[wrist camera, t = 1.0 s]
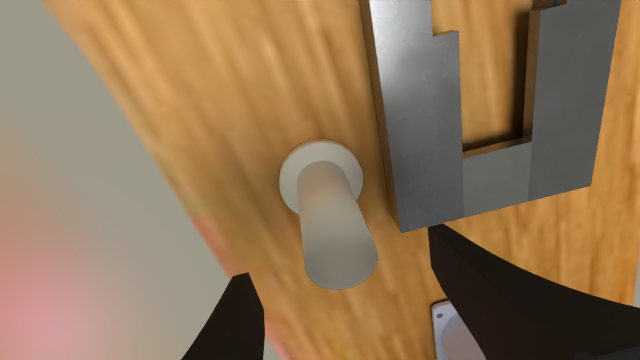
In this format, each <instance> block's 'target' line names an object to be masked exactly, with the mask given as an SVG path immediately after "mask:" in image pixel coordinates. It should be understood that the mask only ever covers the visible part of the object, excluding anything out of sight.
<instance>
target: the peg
mask: <svg viewBox="0 0 640 360" xmlns="http://www.w3.org/2000/svg"><path fill="white" fill-rule="evenodd" d="M279 186H280V192H281V196H282V198H283V200H284V202H285V203H286V205H287V206H288V207H289V208H290V209H291V210H292V211H294V212H295V213H297V214H298V215H300V224H301V234H302V243H303V253H304V262H305V269H306V272H307V275H308V276H309V278H310V279H311V280H312V281H313V282H314V283H316V284H317V285H319V286H321V287H324V288H327V289H333V290H341V289H348V288H351V287H354V286H356V285H358V284H360V283H362V282H363V281H365V280H366V279H367V278H368V277H369V276H370V275H371V274H372V272H373V271H374V269H375V267H376V265H377V261H378V253H377V249H376V247H375V244H374V242H373V240H372V237H371V235H370V232H369V230H368V228H367V225H366V223H365V220H364V218H363V216H362V213H361V211H360V208H359V206H358V204H357V201H356V200H357V199H358V197H359V195H360V193H361V190H362V186H363V173H362V169H361V167H360V165H359V163H358V161H357V159H356V157H355V156H354V154H353V153H352V152H351V150H349V149H348V148H347V147H346V146H344V145H343V144H341V143H339V142H337V141H334V140H329V139H314V140H310V141H306V142H304V143H302V144H300V145H298V146H297V147H295V148H294V149H293V150H292V151H291V152H290V153H289V154H288V155H287V156H286V158H285V159H284V161H283V163H282V166H281V169H280V175H279Z"/></svg>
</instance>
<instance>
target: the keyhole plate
mask: <svg viewBox="0 0 640 360" xmlns="http://www.w3.org/2000/svg"><path fill="white" fill-rule="evenodd" d="M359 4H360V11H361V17H362V24H363V31H364V37H365V44H366V51H367V57H368V64H369V71H370V77H371V84H372V91H373V98H374V104H375V111H376V118H377V124H378V131H379V138H380V144H381V151H382V158H383V164H384V171H385V178H386V185H387V191H388V198H389V205H390V211H391V216H392V218H393V219H394V221H395V223H396V225H397V227H398V228H399V230H400V232H401V233H404V232H408V231H412V230H416V229H420V228H424V227H428V226H432V225H436V224H440V223H444V222H448V221H452V220H456V219H460V218H464V217H468V216H472V215H476V214H480V213H484V212H488V211H492V210H496V209H500V208H504V207H508V206H512V205H516V204H520V203H524V202H528V201H532V200H536V199H540V198H544V197H548V196H552V195H556V194H560V193H564V192H568V191H572V190H576V189H580V188H584V187H588V186H591V181H592V175H593V169H594V163H595V157H596V151H597V145H598V139H599V133H600V127H601V121H602V115H603V108H604V102H605V96H606V90H607V84H608V78H609V72H610V66H611V60H612V54H613V48H614V42H615V36H616V30H617V24H618V17H619V11H620V5H621V0H534V6H533V10H530V12H529V30H528V48H527V66H526V84H525V102H524V120H523V137H521V138H517V139H513V140H509V141H505V142H501V143H497V144H493V145H489V146H485V147H481V148H477V149H473V150H469V151H465V152H462V124H461V92H460V60H459V31H453V30H450V31H446V32H442V33H438V34H434V35H433V31H432V15H431V0H359Z"/></svg>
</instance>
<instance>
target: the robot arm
mask: <svg viewBox="0 0 640 360" xmlns="http://www.w3.org/2000/svg"><path fill="white" fill-rule="evenodd" d="M428 236H429V247H430V258H431V267H432V269H433V271H434V274H435V276H436V278H437V280H438V282H439V284H440V286H441V288H442V290H443V291H444V293H445V295H446V296H447V298H448V299H449V301H445V302H441V303H437V304H435V305H433V307H432V309H431V311H432V321H433V331H434V341H435V351H436V360H640V308H637V307H633V306H629V305H625V304H621V303H617V302H613V301H610V300H607V299H603V298H600V297H596V296H593V295H590V294H586V293H583V292H580V291H577V290H574V289H571V288H569V287H566V286H563V285H560V284H558V283H555V282H552V281H550V280H547V279H545V278H542V277H540V276H538V275H535V274H533V273H531V272H528V271H526V270H524V269H522V268H520V267H517V266H515V265H513V264H511V263H509V262H507V261H505V260H504V259H502V258H500V257H498V256H496V255H494V254H492V253H490V252H489V251H487V250H485V249H484V248H482V247H480V246H478V245H477V244H475V243H473V242H472V241H470V240H469V239H467V238H465V237H464V236H462V235H461V234H459V233H457V232H456V231H454V230H453V229H451V228H450V227H448V226H446V225H445V224H443V223H442V224H438V225H434V226H430V227H428ZM264 339H265V326H264V309H263V306H262V304H261V302H260V299H259V297H258V294H257V292H256V290H255V287H254V285H253V282H252V280H251V278H250V275H249V273H244V274H240V275H236V276H233V277H232V279H231V280H230V282H229V284H228V286H227V288H226V290H225V291H224V293H223V295H222V297H221V299H220V300H219V302H218V304H217V305H216V307H215V309H214V311H213V312H212V314H211V316H210V318H209V319H208V321H207V322H206V324H205V326H204V327H203V329H202V330H201V332H200V333H199V335H198V336H197V338H196V339H195V341H194V342H193V344H192V345H191V347H190V348H189V350H188V351H187V352H186V354H185V355H184V356H183V358H182V359H181V360H263V351H264Z"/></svg>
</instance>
